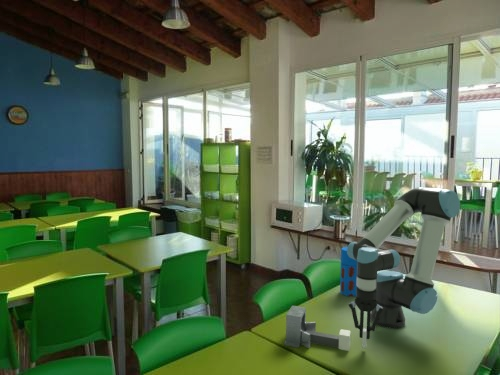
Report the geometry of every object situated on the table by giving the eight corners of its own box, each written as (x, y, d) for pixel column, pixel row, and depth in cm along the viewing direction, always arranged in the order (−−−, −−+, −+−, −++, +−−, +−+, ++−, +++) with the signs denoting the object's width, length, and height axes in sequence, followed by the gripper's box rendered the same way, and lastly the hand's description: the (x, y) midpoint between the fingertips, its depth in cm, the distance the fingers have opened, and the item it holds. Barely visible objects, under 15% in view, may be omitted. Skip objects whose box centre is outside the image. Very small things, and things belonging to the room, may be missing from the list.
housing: (316, 332, 161) (316, 306, 160) (309, 349, 147) (309, 321, 146) (293, 328, 164) (293, 303, 163) (284, 345, 151) (284, 317, 149)
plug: (350, 344, 151) (350, 330, 150) (348, 350, 146) (349, 336, 146) (306, 337, 157) (306, 323, 157) (303, 342, 153) (304, 328, 152)
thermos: (360, 297, 201) (362, 252, 199) (340, 295, 203) (341, 251, 201) (358, 290, 212) (360, 247, 210) (339, 288, 214) (340, 246, 212)
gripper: (384, 286, 146) (382, 344, 148) (350, 282, 150) (348, 338, 152) (384, 293, 139) (381, 353, 141) (348, 288, 143) (346, 347, 145)
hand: (364, 345), depth 147 cm, fingers closed
